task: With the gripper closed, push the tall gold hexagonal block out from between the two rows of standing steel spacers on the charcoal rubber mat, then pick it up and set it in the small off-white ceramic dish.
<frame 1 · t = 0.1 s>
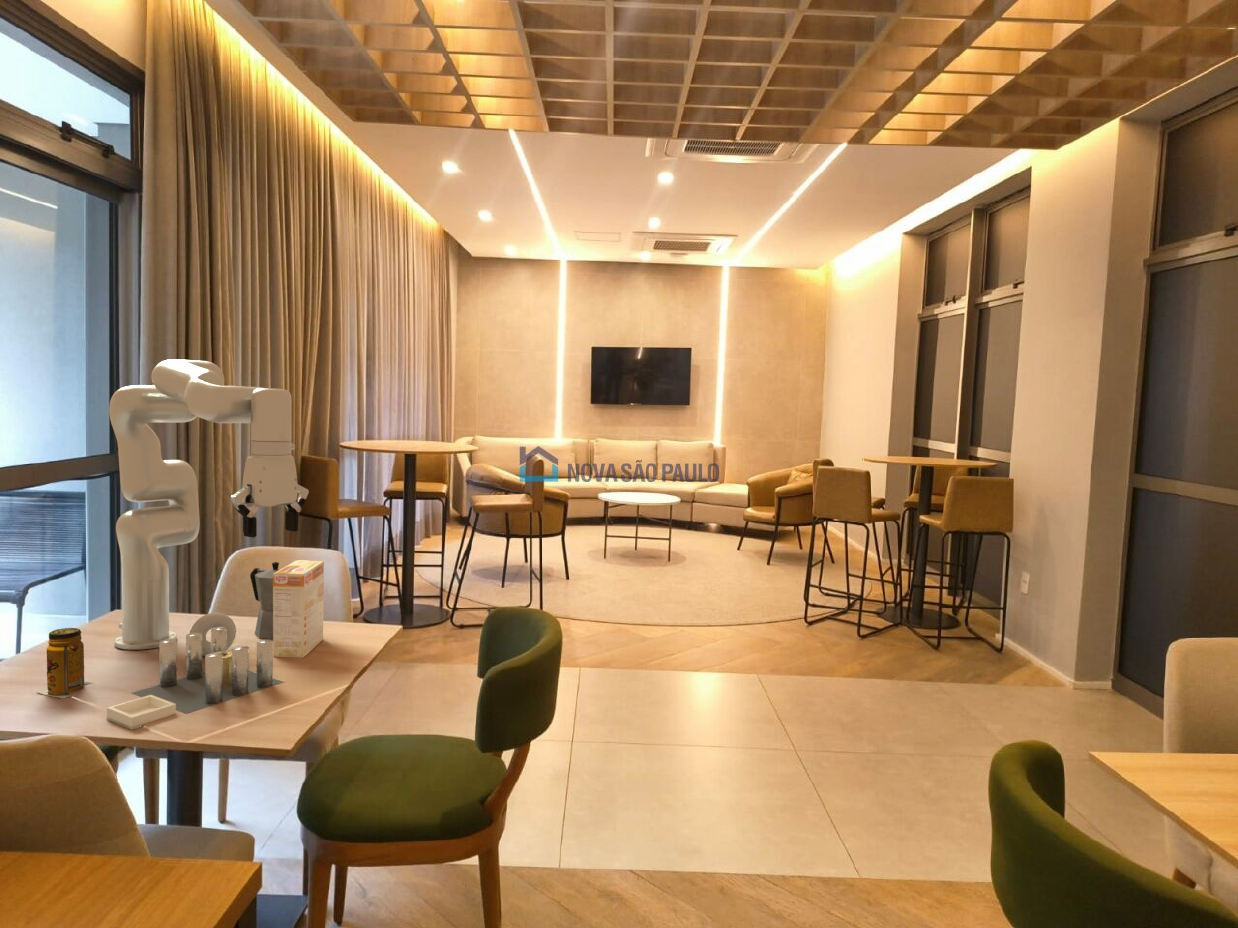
hand: (271, 533, 167), 31 cm above the table, tool pointing down, fingers open, 9 cm apart
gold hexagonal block: (221, 683, 166), resting on mat
coffeecake box: (298, 649, 192), on the table
spacers: (216, 686, 166), resting on mat
coffeepot: (272, 634, 203), on the table
condiment: (71, 690, 162), on the table
dish: (141, 717, 149), on the table
donut: (212, 657, 184), on the table
mat: (209, 689, 164), on the table
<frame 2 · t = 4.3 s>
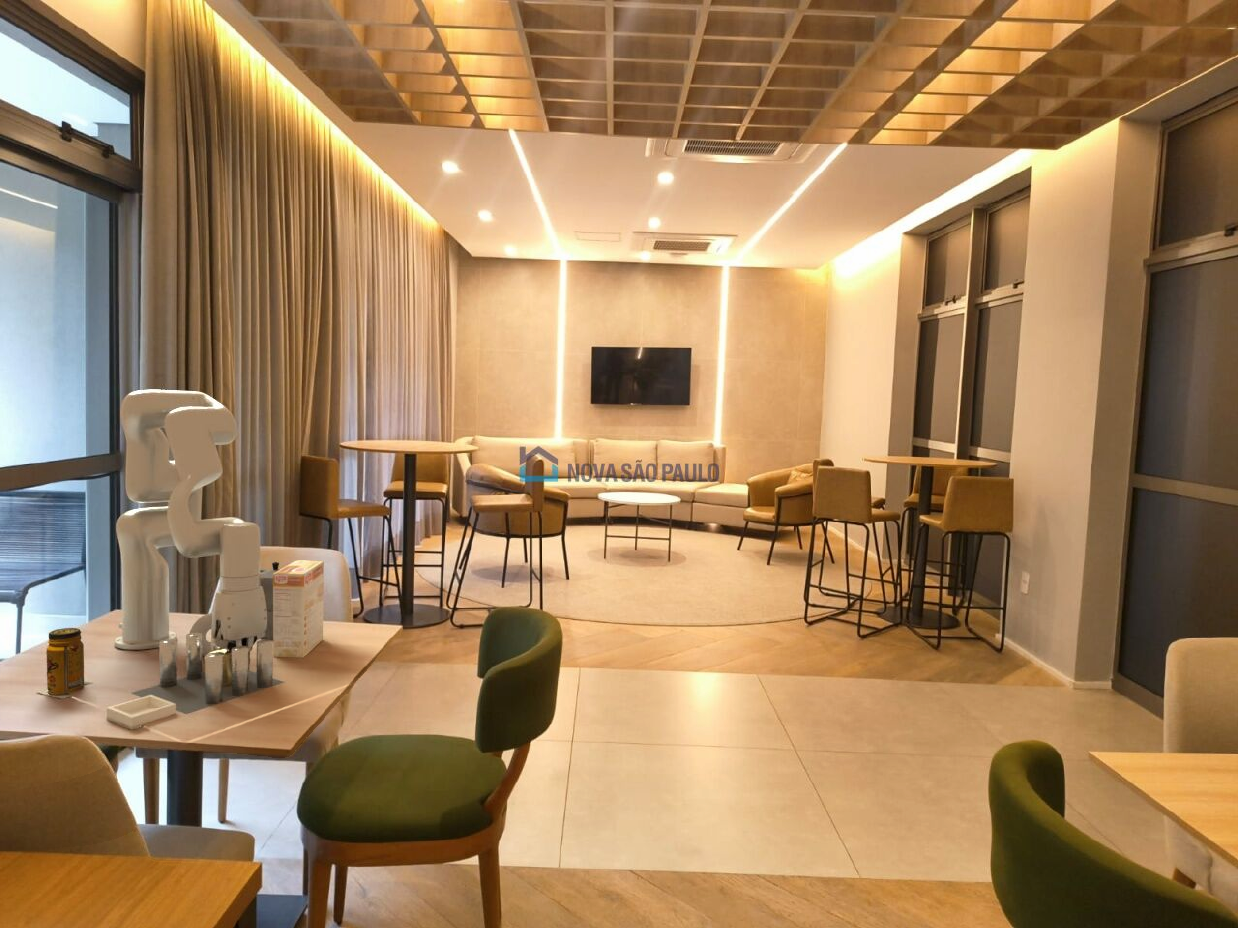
hand: (240, 670, 170), 2 cm above the table, tool pointing down, fingers closed
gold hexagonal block: (221, 681, 166), point 1 cm above the table, tilted 9°, touching gripper, mat
everything else where it was.
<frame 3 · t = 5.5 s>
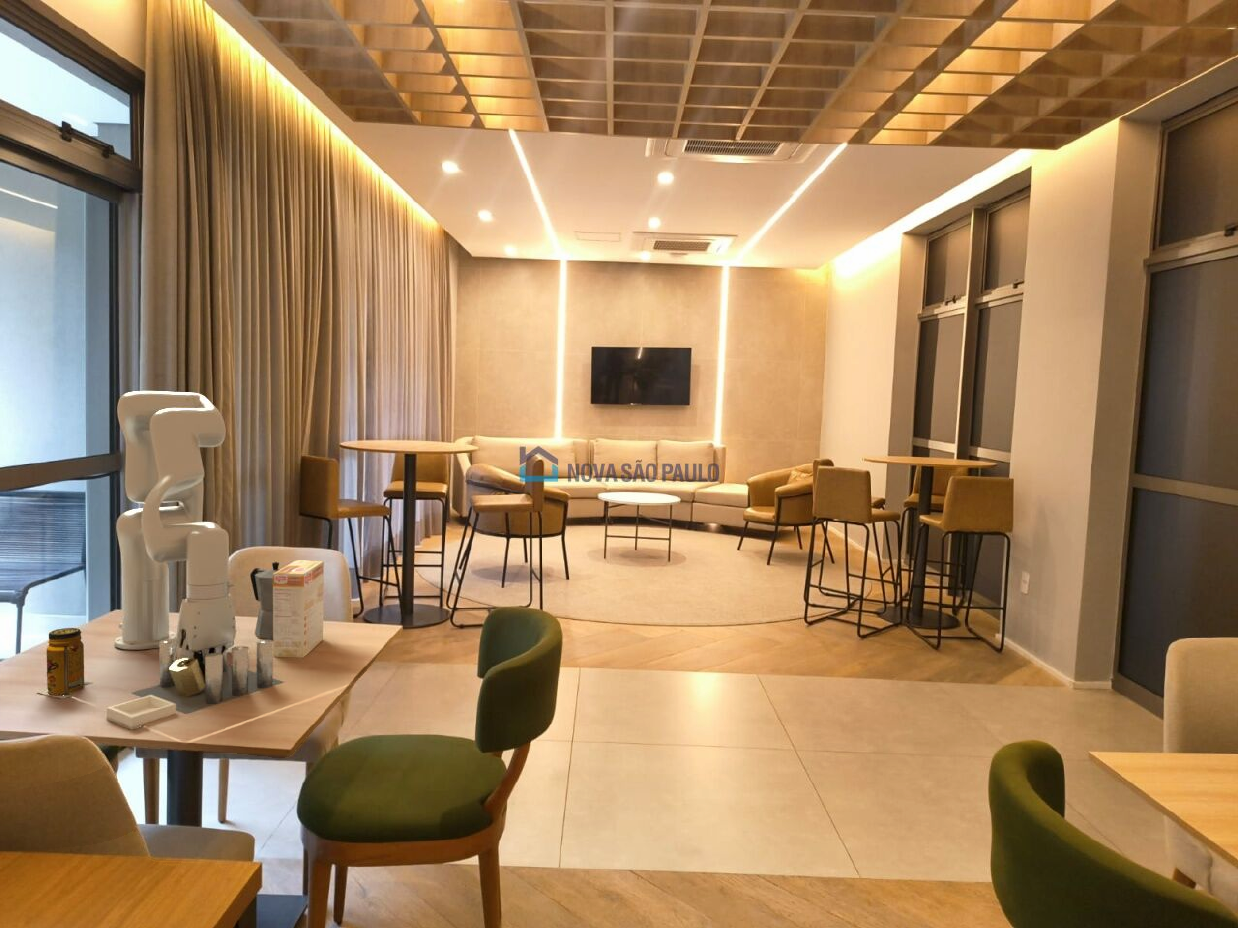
hand: (208, 680, 164), 2 cm above the table, tool pointing down, fingers closed
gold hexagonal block: (192, 689, 161), point 1 cm above the table, tilted 19°, touching gripper, mat
everything else where it was.
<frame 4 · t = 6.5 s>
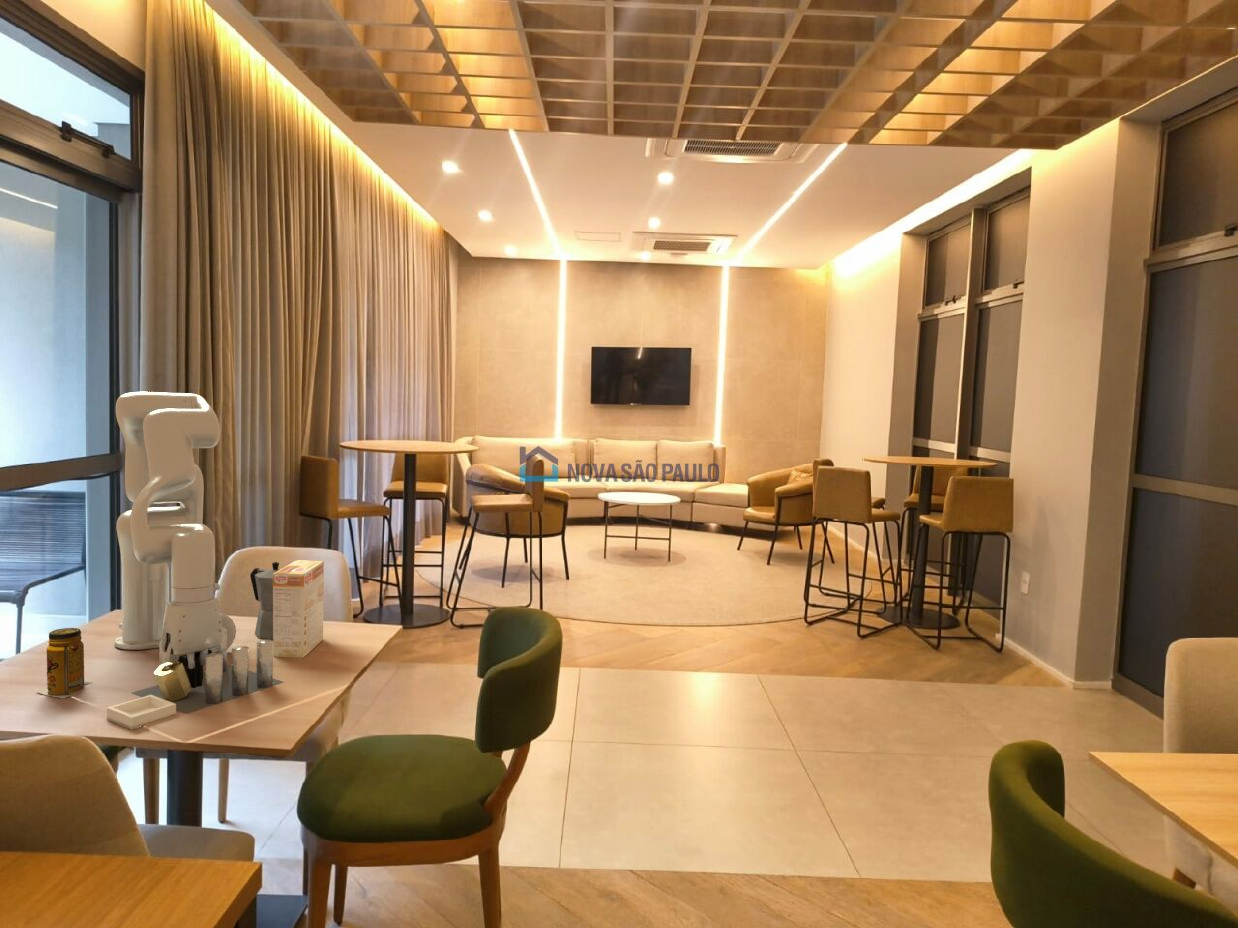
hand: (193, 685, 161), 2 cm above the table, tool pointing down, fingers closed
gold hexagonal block: (178, 693, 158), point 1 cm above the table, tilted 19°, touching gripper, mat
everything else where it was.
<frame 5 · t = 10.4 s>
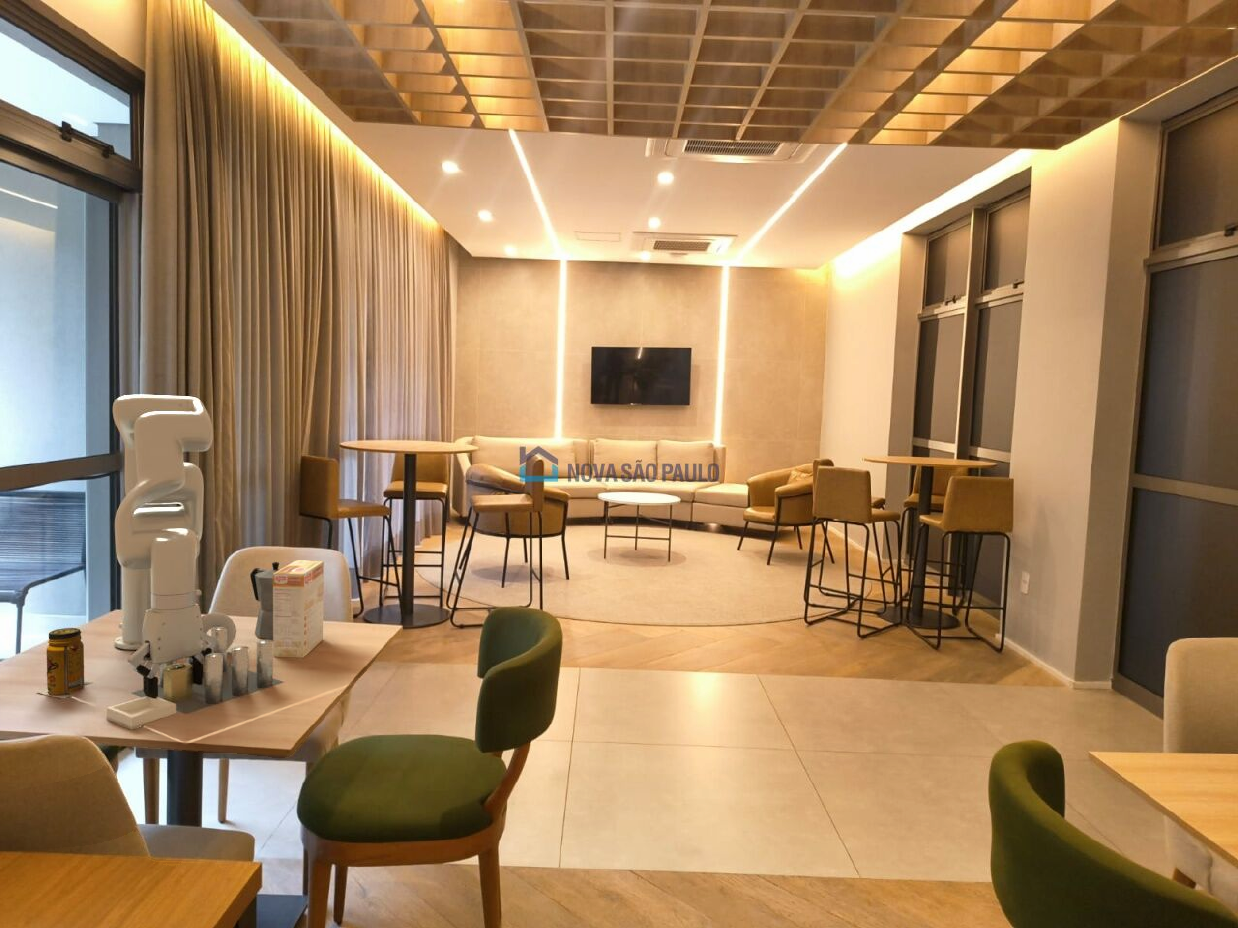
hand: (174, 689, 157), 2 cm above the table, tool pointing down, fingers open, 8 cm apart
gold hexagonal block: (178, 697, 158), resting on mat
everything else where it was.
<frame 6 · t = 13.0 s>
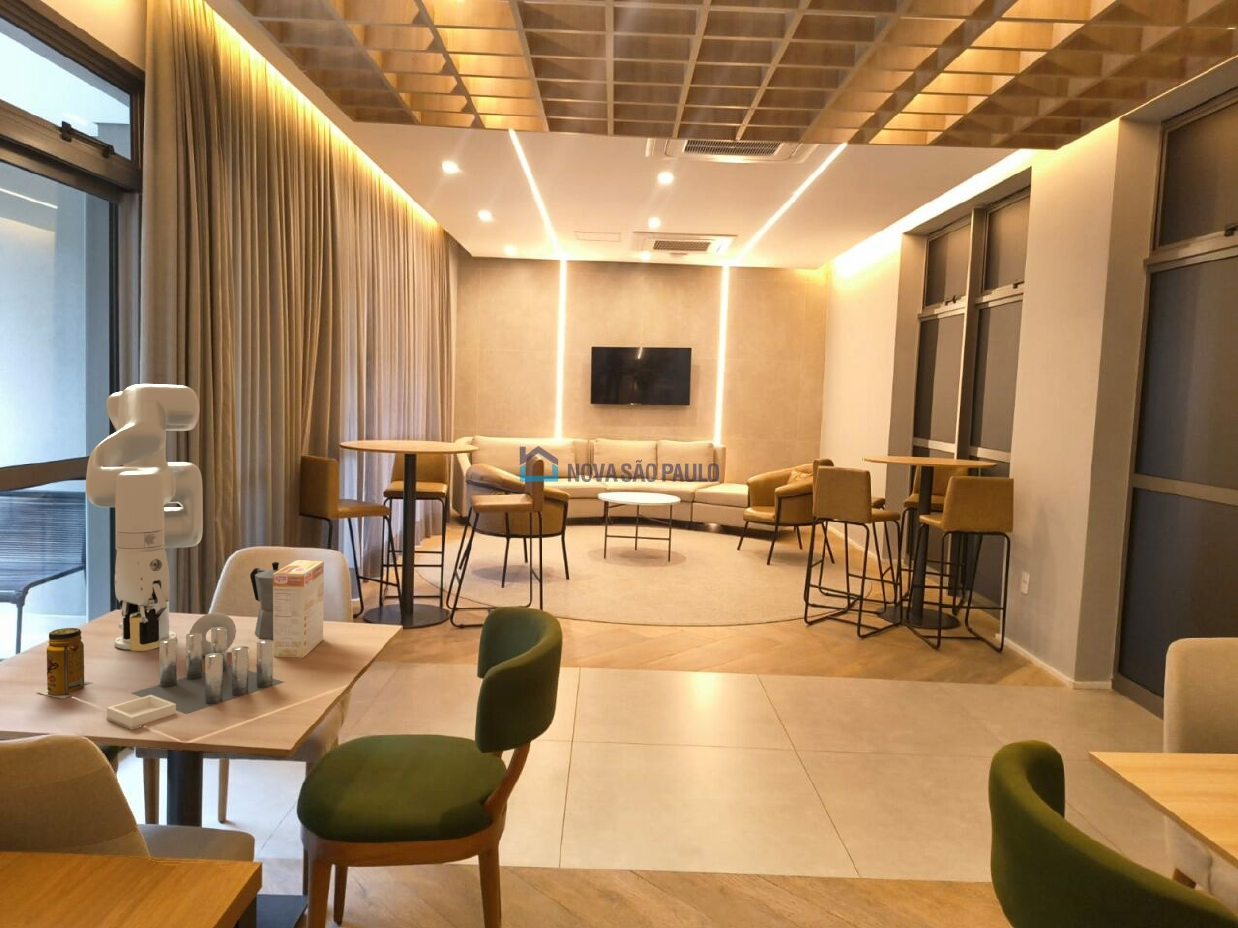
hand: (141, 639, 148), 15 cm above the table, tool pointing down, fingers closed on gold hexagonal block, 4 cm apart
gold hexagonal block: (144, 646, 149), point 13 cm above the table, touching gripper
everything else where it was.
when the fingers open (2 cm above the table, at t = 15.0 s): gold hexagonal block stays where it is, resting on dish.
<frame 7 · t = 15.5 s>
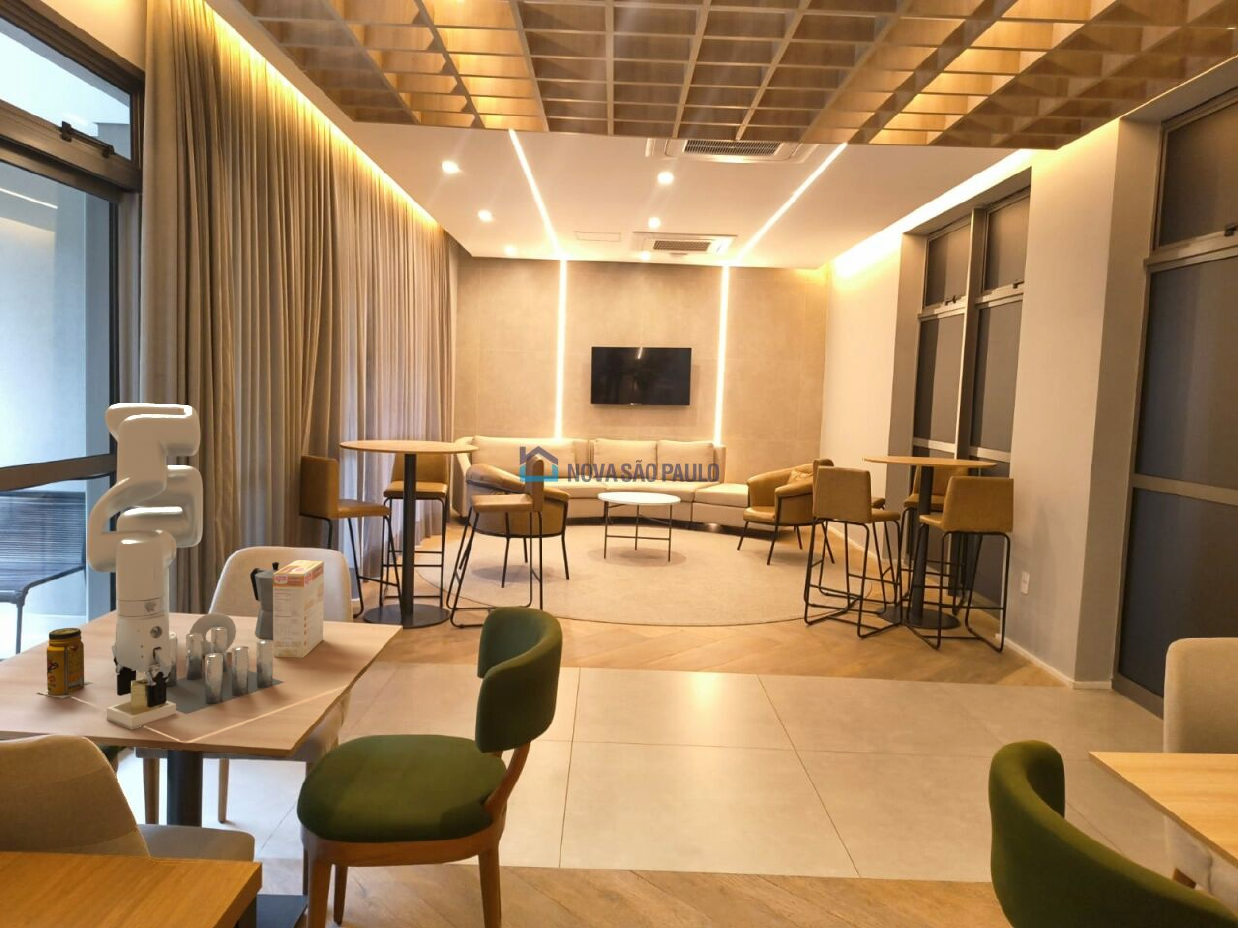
hand: (141, 699, 149), 3 cm above the table, tool pointing down, fingers open, 9 cm apart
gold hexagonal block: (145, 713, 150), resting on dish
everything else where it was.
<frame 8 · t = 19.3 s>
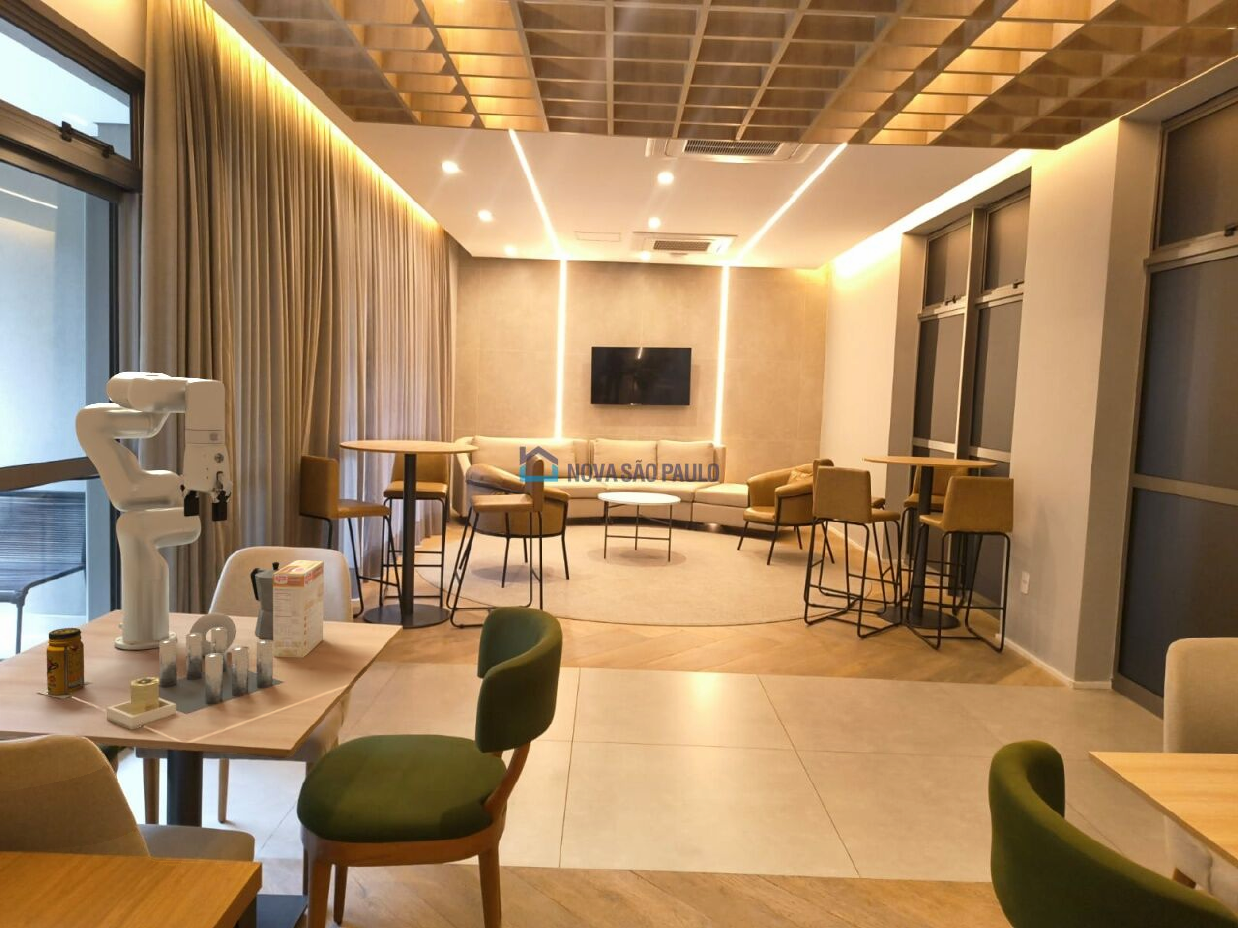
hand: (205, 518, 175), 32 cm above the table, tool pointing down, fingers open, 9 cm apart
nothing on the table moved.
at the end: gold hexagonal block 0.7 cm off-centre on the dish, point 0.5 cm above the dish's base; the gripper is holding nothing; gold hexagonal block moved 17.6 cm from its start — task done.
